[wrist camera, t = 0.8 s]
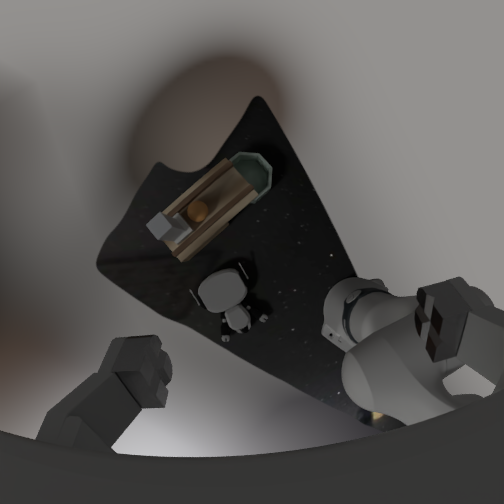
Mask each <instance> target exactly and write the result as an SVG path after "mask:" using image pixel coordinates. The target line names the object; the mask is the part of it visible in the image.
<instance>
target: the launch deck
mask: <svg viewBox="0 0 504 504" xmlns="http://www.w3.org/2000/svg"><path fill="white" fill-rule="evenodd" d="M257 196H258V193H257V192H256V191H255V190H254V187H253V186H252V184H249V183H248V182H247V181H246V180H245V179H244V178H243V177H242V175H241V174H240V173H239V172H238V171H237V170H236V169H235V168H234V167H233V163H232V162H231V161H230V160H229V161H228V160H227V159H226V158H225V159H223V160H222V161H221V162H220V163H219V164H217V165H216V166H215V167H214V168H213V169H211V170H210V171H209V172H208V173H207V174H205V175H204V176H203V177H202V178H201V179H200V180H198V181H197V182H196V183H195V184H194V185H193V186H191V187H190V188H189V189H188V190H187V191H186V192H185V193H183V194H182V195H181V196H180V197H179V198H178V199H177V200H176V201H174V202H173V203H172V204H171V205H170V206H169V207H168V208H167V209H165V210H164V211H163V212H162V213H164V214H166V215H168V216H170V217H173V216H174V215H175V214H176V213H179V214H181V216H182V217H183V218H184V219H185V220H186V221H187V223H188V224H189V225H190V226H191V227H192V228H193V230H194V232H193V233H192V234H191V235H190V236H188V237H187V238H186V239H185V240H184V241H183V242H182V243H181V244H179V245H178V244H176V243H175V242H173V241H164V240H163V241H164V242H165V243H166V244H167V246H168V247H169V248H170V249H171V250H172V254H173V256H174V257H177V258H178V259H179V260H180V261H181V262H184V261H189V260H190V259H191V258H192V257H193V256H195V255H196V254H197V253H198V252H199V251H200V250H201V249H202V248H204V247H205V246H206V245H207V244H208V243H209V242H210V241H212V240H213V239H214V238H215V237H216V236H217V235H218V234H220V233H221V232H222V231H223V230H224V229H225V228H226V227H228V226H229V223H228V221H229V220H230V219H232V218H233V217H234V216H235V215H236V214H237V213H239V212H240V211H241V210H242V209H243V208H244V207H246V206H247V205H248V204H249V203H250V202H251V201H253V200H254V199H255V198H256V197H257ZM194 201H202V202H204V203H205V204H206V205H207V207H208V215H207V217H206V218H205V219H204V220H203V221H200V222H195V221H193V220H191V219H190V218H189V216H188V214H187V209H188V206H189V205H190V204H191V203H192V202H194Z"/></svg>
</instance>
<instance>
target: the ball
mask: <svg viewBox="0 0 504 504" xmlns="http://www.w3.org/2000/svg"><path fill="white" fill-rule="evenodd" d="M187 214H188V216H189V218H190V219H191V220H193V221H195V222H200V221H203V220H204V219H205V218H206V217H207V215H208V207H207V205H206V204H205V203H204V202H202V201H194V202H192V203H191V204H190V205H189V206H188V209H187Z"/></svg>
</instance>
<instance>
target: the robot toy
mask: <svg viewBox="0 0 504 504" xmlns="http://www.w3.org/2000/svg"><path fill="white" fill-rule="evenodd" d="M239 265H240V266H241V264H240V263H239ZM241 268H242V266H241ZM242 270H243V268H242ZM243 272H244V270H243ZM244 273H245V272H244ZM244 273H242V272H241V271H240V272H238V271H237V270H236V269H232V268H227V269H223V270H220V271H217V272H214V273H212V274H211V275H210V276H209V277H207V278H206V279H205V280H204V281H203V282H202V283H201V285H200V287H199V289H198V295H197V299H198V300H197V299H196V297H195V296H194V294H193V293H192V291H191V290H190V292H191V293H192V295H193V296H194V298H195V299H196V301H197V303H198V305H201V307H203V308H204V309H208V310H209V311H210V312H215V313H217V312H222V311H225V312H222V313H221V319H223V323H222V325H221V335H223V336H222V340H223V341H224V342H225V338H227V341H229V340H230V336H229V334H230V329H229V327H231V328H232V329H234V330H236V331H237V332H238V333H243V332H244V333H247V332H248V331H249V328H250V327H251V324H250V320H251V318H250V313H251V315H252V316H254V317H255V318H257V319H260V321H261V322H265V321H266V320H264V319H263V318H265V319H268V316H267V315H266V314H263V312H262V311H260V310H259V309H257V308H254V307H250V306H248V303H247V302H245V301H243V302H242V303H240V302H241V301H242V300H243V299H244V298H245V296H246V294H247V287H248V286H249V285H248V279H249V278H248V276H247V275H246V273H245V274H244ZM245 275H246V276H245ZM246 308H247V309H248V310H249V311H248V310H247V309H246ZM249 312H250V313H249ZM226 320H227V322H228V324H229V325H228V324H227V322H226ZM247 325H248V327H247Z"/></svg>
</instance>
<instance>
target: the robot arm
mask: <svg viewBox="0 0 504 504" xmlns="http://www.w3.org/2000/svg"><path fill="white" fill-rule="evenodd" d="M330 333H332V335H331V336H329V334H330ZM322 335H323V336H324V337H326V338H327V339H328V340H330V341H331V342H332V343H334V344H335V345H336V346H338V347H339V348H341V349H342V350H343V351H345V352H346V355H345V357H344V360H343V364H342V381H343V385H344V388H345V390H346V392H347V394H348V396H349V397H350V398H351V399H352V400H353V401H354V402H355V403H356V404H357V405H358V406H360V407H362V408H364V409H366V410H369V411H372V412H378V413H383V414H386V415H389V416H392V417H394V418H396V419H398V420H400V421H402V422H403V423H405V424H406V425H407V426H405V427H402V428H398V429H395V430H391V431H388V432H384V433H380V434H376V435H372V436H368V437H364V438H359V439H355V440H350V441H346V442H341V443H336V444H331V445H325V446H320V447H313V448H307V449H300V450H294V451H286V452H278V453H268V454H257V455H244V456H226V457H158V456H141V455H128V454H118V453H116V452H115V451H114V450H113V449H112V448H111V446H112V445H113V444H114V443H115V442H116V441H117V439H118V438H119V437H120V436H121V435H122V433H123V432H124V431H125V429H126V428H127V427H128V426H129V425H130V423H131V422H132V421H133V420H134V419H135V417H136V416H137V415H138V414H139V413H140V411H141V410H142V409H141V408H164V407H165V404H166V400H167V396H168V390H167V388H166V387H165V386H166V385H167V384H168V383H169V382H170V381H171V378H172V364H171V360H170V358H169V356H168V354H167V353H166V352H165V351H163V350H161V345H162V343H161V341H160V339H159V337H158V336H156V335H145V336H131V337H121V338H115V339H113V340H112V342H111V344H110V346H109V349H108V351H107V353H106V355H105V357H104V359H103V362H102V364H101V366H100V369H99V371H98V373H93V374H92V375H91V376H90V377H88V378H87V379H86V380H85V381H84V382H83V383H81V384H80V385H79V386H78V387H77V388H75V389H74V390H73V391H72V392H71V393H69V394H68V395H67V396H66V397H65V398H64V399H62V400H61V401H60V402H59V403H58V404H56V405H55V406H54V407H53V408H52V409H50V410H49V411H48V412H47V414H46V416H45V419H44V421H43V423H42V425H41V428H40V430H39V432H38V435H37V437H36V439H35V440H33V439H30V438H25V437H22V436H18V435H14V434H11V433H7V432H3V431H0V504H504V311H503V310H500V309H498V308H496V307H494V304H493V302H492V301H491V299H490V298H489V297H488V296H487V295H486V294H485V293H484V292H483V291H482V290H480V289H478V288H476V287H473V286H469V285H468V284H467V283H466V282H465V281H464V279H463V278H461V277H456V278H453V279H449V280H446V281H444V282H440V283H436V284H432V285H429V286H425V287H421V288H418V291H417V296H408V297H397V296H394V295H392V294H390V293H389V292H388V288H387V287H385V285H384V283H383V281H382V280H380V279H372V280H366V279H363V278H358V277H351V278H347V279H344V280H342V281H340V282H338V283H337V284H336V285H335V286H334V287H333V288H332V289H331V290H330V291H329V293H328V295H327V297H326V299H325V303H324V324H323V327H322ZM465 364H466V365H468V366H469V367H471V368H472V369H473V370H475V371H476V372H478V373H479V374H480V375H482V376H484V377H485V378H486V379H488V380H489V381H490V382H492V383H493V384H495V385H496V387H495V389H494V391H493V393H492V394H491V395H489V396H487V397H485V398H483V397H481V396H479V395H475V394H462V395H454V396H452V395H451V394H449V392H448V391H447V390H446V388H445V387H444V385H443V382H442V380H443V379H444V378H445V377H447V376H448V375H450V374H451V373H453V372H454V371H456V370H457V369H459V368H460V367H462V366H463V365H465Z"/></svg>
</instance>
